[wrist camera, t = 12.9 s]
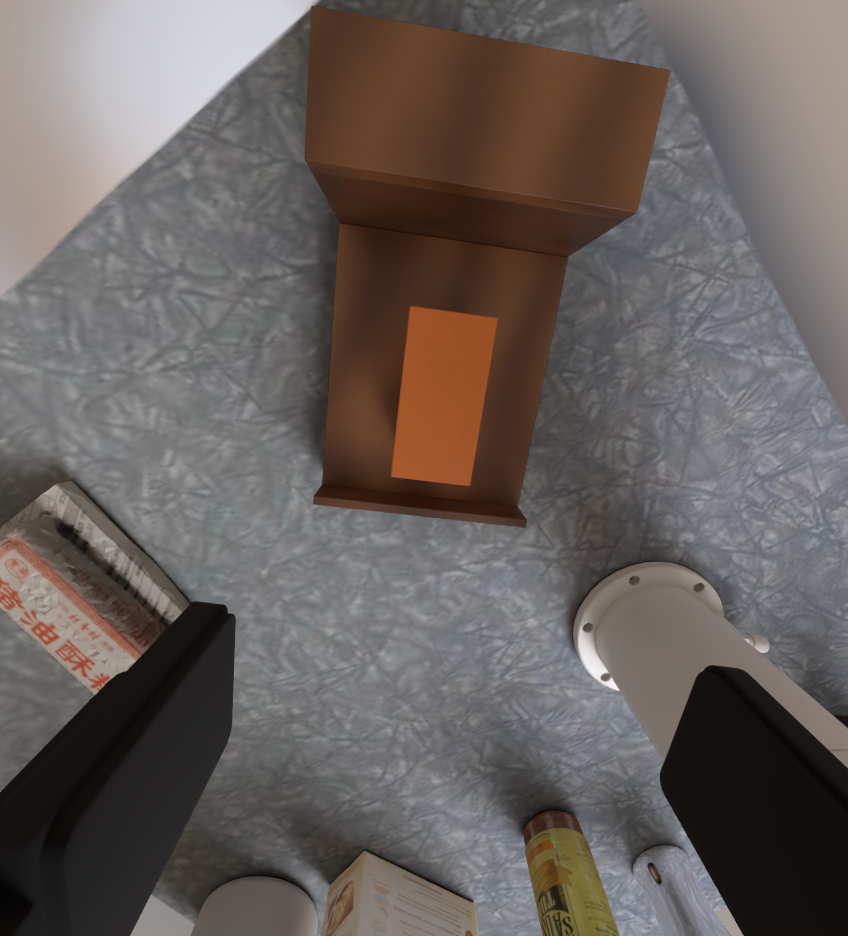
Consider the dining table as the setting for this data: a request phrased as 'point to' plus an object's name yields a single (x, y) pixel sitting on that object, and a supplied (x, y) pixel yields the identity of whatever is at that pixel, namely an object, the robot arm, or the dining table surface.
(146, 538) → the dining table surface
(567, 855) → the sauce bottle
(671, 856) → the beer glass
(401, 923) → the coffeecake box
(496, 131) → the shelf
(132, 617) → the packaged product
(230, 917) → the cylinder vase
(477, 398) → the block
